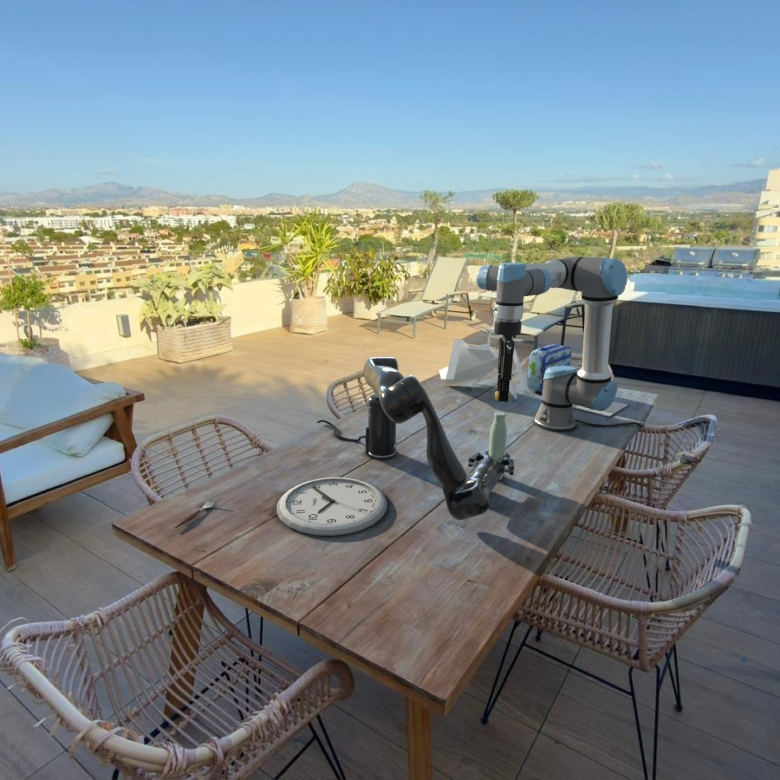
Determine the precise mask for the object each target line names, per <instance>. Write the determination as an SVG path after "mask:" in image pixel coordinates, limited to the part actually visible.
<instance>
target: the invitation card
mask: <svg viewBox="0 0 780 780" xmlns="http://www.w3.org/2000/svg"><path fill="white" fill-rule="evenodd" d="M628 406H629V404H627V403H623V402H618V401H614V400H613V402H612V404H611V405H610V406H609V407H608V408H607V409H606V410H604V411H598V410H591V409H589V408H586V407H582V406H579V405H575V406H574V407H573V409H575V410H581V411H584V412H587V413H593V414H596V415H600V416H604V417H608V418H609V417H611V416H613V415H614V414H616V413H617V412H619V411H621V410H623V409H624V408H626V407H628Z"/></svg>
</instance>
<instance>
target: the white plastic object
mask: <svg viewBox="0 0 780 780" xmlns="http://www.w3.org/2000/svg"><path fill="white" fill-rule="evenodd" d="M495 312H496V311H494V310H493V311H492V315H493V319H494V321H495V320H496V318H495ZM500 337H501V335H499V338H500ZM498 355H499V348H498V349H496V350H495V349H493V348H492V347H491V346H490V344H489V343H488V342H487V343H483V344H479V345H473V346H469V345H468V343H466V342H465V340H464V339H463V338H460V339H458V338H454V340H453V344H452V349H451V353H450V357H449V362H448V366H446V367H444V368H442V369H440V370H439V371H438V372H439V376H440V381H442V383H443V384H444V385H445V386H449V385H458V384H467V383H468V384H469V383H473V384H477V383H480V382H482V381H484V378H485V377H486V376H487V375H489V374H490V373H492V372H494V371H495V370H496V369H497V367H498ZM513 363H514V366H515V369H516V372H517V376H518V380H519V382H520V385H521V389H522V391H523V393H524V395H525V396H526V397H528V396H531V395H530V390H529V389H528V387H527V380H526V378H525V375H524V371H523V369H522V368H523V367H522V366H521V362H520V359H519V355H518V352H517V349H516V347H514V353H513ZM516 391H517V390H516V388H515V385H514V381H513V378H512V379H511V380H510V385H509V393H510V395H512V397H513V398H514V399H515V400H517V392H516Z"/></svg>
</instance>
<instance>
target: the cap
mask: <svg viewBox="0 0 780 780" xmlns="http://www.w3.org/2000/svg"><path fill="white" fill-rule="evenodd" d="M494 399H495V400H497V401H498V399H499V391H497V390H496V391H495V392H494ZM510 399H511V392H509V397H508V401H510Z"/></svg>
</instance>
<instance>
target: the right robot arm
mask: <svg viewBox="0 0 780 780" xmlns="http://www.w3.org/2000/svg"><path fill="white" fill-rule="evenodd" d="M475 281H476V285H477V287H478V288H479V289H481V290H485V291H487V292H489V291H491V292H496V298H495V299H496V300H495V307H493V308H492V310H493V312H494V311H496V312H495V318H496V320H495V318H494V321H493V322H494V323H493V333H494V334H496V335H498V336H499V339H498V349H499V355H498V367H497V368H496V369H497V383H496V385H497V386H496V392H497V391H499V399H498V400H497V401H498V402H499V403H500V402H501V403H509V400H508V397H509V393H510V390H509V385H510V380H511V379H512V380H513V378H512V376H513V375H512V373H513V363H514V360H513V353H514V348H515V340H514V338H513V337H514V336H519V335H520V334H522V327H523V326H522V325H523V322H522V320H523V316H524V315H523V314H524V301H525V300H524V299H525V297H531V296H540V295H542V294H545V293H547V292H548V291H549V290H550V289H563V290H568V291H573V292H581V295H580V296H581V298H580V299H581V300H582V301H583V302H584V303H585V307H584V308H585V310H584V312H585V313H584V326H583V327H584V328H583V343H582V356H581V357H582V358H581V368H580V369H578V368H577V367H576V366H571V365H570V366H554V367H550V368H547V369H546V371H545V374H544V378H543V380H544V381H543V391H542V393H541V402H540V405H539V407H538V410H537V411H536V413H535V416H534V424H535V425H536V426H537V427H539V428H542V429H544V430H549V431H556V432H567V431H572V430H574V429H575V428H576V423H580V424H583V425H585V426H592V427H603V428H605V427H607V428H610V427H611V428H613V427H619V426H631V425H633V426H634V425H635V426H638V427H639V428H644V426H643V424H641V423H639V422H635V421H634V422H633V421H632V422H619V423H613V424H610V423H609V424H603V423H601V424H600V423H592V422H587V421H583V420H580V419H576V418H575V417H576V416H575V413H574V407H573V405H575V406H578V405H579V406H582V407H586V408H589V409H591V410H598V411H604V410H606V409H607V408H608V407H609V406H610V405H611V404H612V402H613V401H614V400H615V399H616V396H617V394H618V393H617V392H618V384H617V382H616V381H615V380H612V376H613V375H612V372H611V371H610V370H609V369H608V367H609V356H610V355H609V354H610V344H611V330H612V329H611V328H612V318H613V317H612V316H613V307H614V306H613V305H614V303H615V302H616V301H618V299H619V296H622V294H623V293H624V292H625V290H626V286H627V284H628V271H627V268H626V265H625V264H624V262H623V261H622V260H621V259H617V258H611V257H599V256H578V255H577V256H569V257H562V258H554V259H549V260H548V261H546V262H540V263H539V262H537V263H522V262H502V263H500V264H499V265H493V264H490V265H488V264H485V265H482V266H481V267H479V269H478V270H477V272H476V280H475ZM500 335H501V337H500Z"/></svg>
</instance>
